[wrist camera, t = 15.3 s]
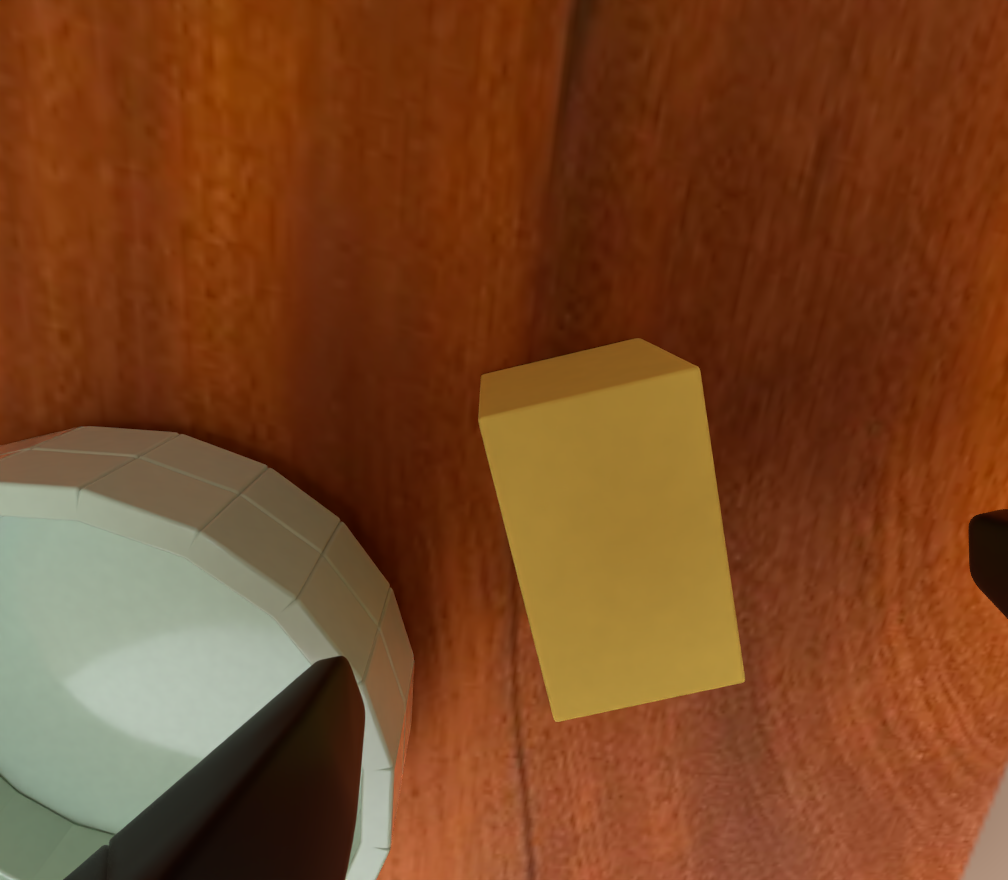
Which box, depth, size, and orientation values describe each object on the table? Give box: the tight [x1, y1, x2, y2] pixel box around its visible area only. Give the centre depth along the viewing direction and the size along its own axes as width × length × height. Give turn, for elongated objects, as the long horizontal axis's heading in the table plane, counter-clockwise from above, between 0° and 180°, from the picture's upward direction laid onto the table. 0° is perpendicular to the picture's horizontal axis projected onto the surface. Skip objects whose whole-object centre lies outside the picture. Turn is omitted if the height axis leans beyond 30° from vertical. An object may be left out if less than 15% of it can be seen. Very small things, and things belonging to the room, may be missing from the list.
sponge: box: [478, 338, 745, 722], centre depth 12 cm, size 6×4×4 cm, turn 13°
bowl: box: [0, 426, 414, 880], centre depth 13 cm, size 12×12×4 cm
